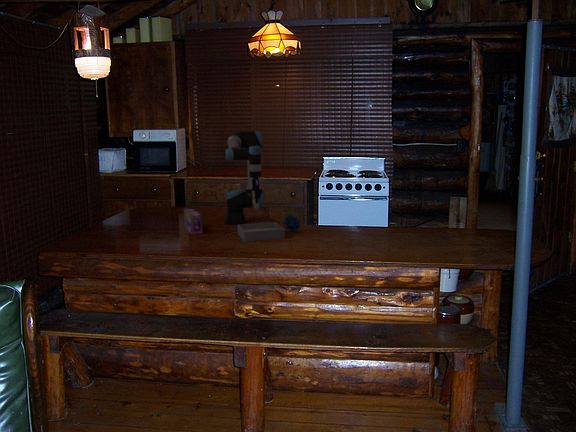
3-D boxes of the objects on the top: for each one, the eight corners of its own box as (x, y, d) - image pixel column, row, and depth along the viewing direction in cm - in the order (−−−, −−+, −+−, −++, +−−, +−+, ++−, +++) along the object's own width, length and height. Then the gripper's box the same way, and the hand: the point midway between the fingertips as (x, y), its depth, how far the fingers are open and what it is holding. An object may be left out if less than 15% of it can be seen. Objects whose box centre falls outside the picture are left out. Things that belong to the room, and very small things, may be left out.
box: (237, 233, 377) (237, 224, 376) (276, 230, 384) (275, 222, 383) (244, 241, 356) (244, 232, 355) (284, 238, 363) (284, 229, 362)
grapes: (282, 233, 378) (282, 215, 375) (283, 230, 384) (283, 213, 382) (299, 233, 376) (299, 215, 373) (301, 231, 382) (301, 213, 380)
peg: (252, 209, 369) (251, 190, 366) (258, 209, 369) (258, 190, 367) (253, 210, 365) (253, 191, 362) (259, 210, 366) (259, 191, 363)
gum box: (203, 234, 377) (202, 213, 374) (191, 235, 374) (190, 214, 372) (195, 226, 399) (194, 207, 396) (184, 227, 396) (183, 208, 393)
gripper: (247, 169, 369) (247, 205, 374) (251, 172, 353) (252, 210, 358) (258, 169, 371) (259, 204, 376) (263, 172, 355) (264, 209, 360)
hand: (256, 207), depth 367 cm, fingers closed on peg, 4 cm apart
